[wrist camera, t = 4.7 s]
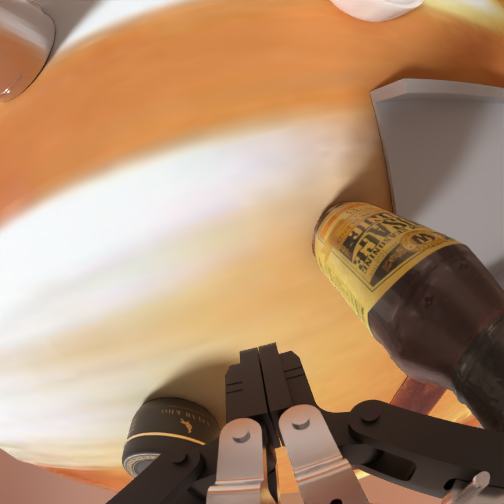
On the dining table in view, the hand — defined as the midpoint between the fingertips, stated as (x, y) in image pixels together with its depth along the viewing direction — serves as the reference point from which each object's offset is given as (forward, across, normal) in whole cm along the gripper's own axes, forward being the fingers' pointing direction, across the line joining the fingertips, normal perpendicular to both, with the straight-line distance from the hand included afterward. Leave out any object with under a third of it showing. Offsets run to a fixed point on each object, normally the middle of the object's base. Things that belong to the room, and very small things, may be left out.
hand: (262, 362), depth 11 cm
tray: (+11, -25, 0) cm, 27 cm away
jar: (+11, +12, +16) cm, 23 cm away
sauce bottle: (+11, -8, 0) cm, 14 cm away
